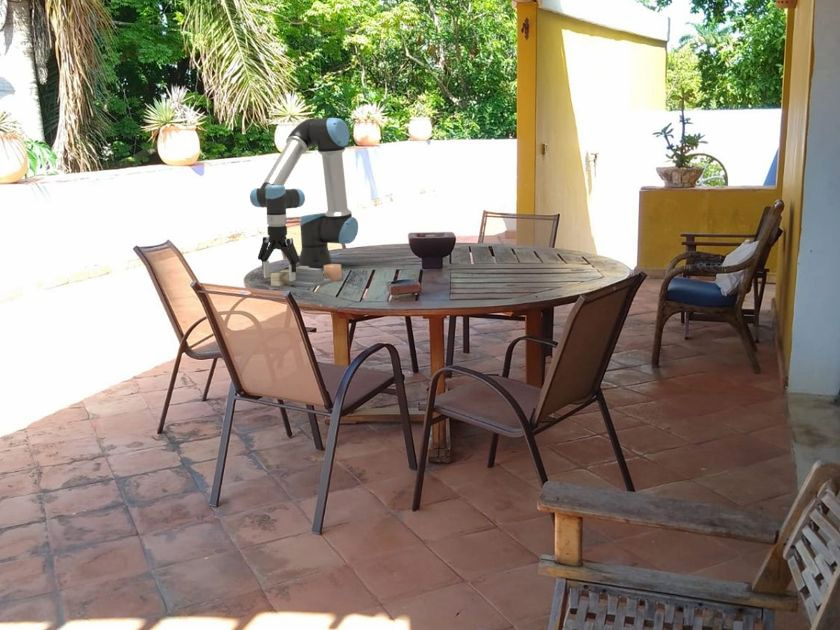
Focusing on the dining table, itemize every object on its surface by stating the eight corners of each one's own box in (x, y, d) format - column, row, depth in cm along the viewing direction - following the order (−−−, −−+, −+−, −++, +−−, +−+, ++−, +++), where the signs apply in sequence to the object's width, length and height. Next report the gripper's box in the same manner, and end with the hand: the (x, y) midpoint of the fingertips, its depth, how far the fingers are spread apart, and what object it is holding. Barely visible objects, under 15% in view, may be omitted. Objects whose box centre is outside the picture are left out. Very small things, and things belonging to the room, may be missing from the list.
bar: (301, 277, 335) (300, 265, 334) (309, 278, 333) (308, 266, 332) (271, 286, 318) (270, 273, 317) (279, 286, 316) (278, 274, 315)
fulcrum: (307, 279, 329) (307, 265, 327) (330, 282, 322) (330, 267, 321) (287, 284, 319) (287, 269, 317) (311, 287, 312) (310, 272, 311)
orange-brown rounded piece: (331, 277, 333) (331, 263, 331) (345, 279, 329) (344, 264, 328) (320, 280, 327) (320, 265, 326) (334, 282, 323) (333, 267, 322)
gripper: (247, 224, 319) (249, 277, 324) (294, 227, 306) (297, 283, 310) (260, 223, 325) (263, 275, 330) (307, 226, 312) (309, 280, 317)
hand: (279, 279), depth 320 cm, fingers open, 13 cm apart
